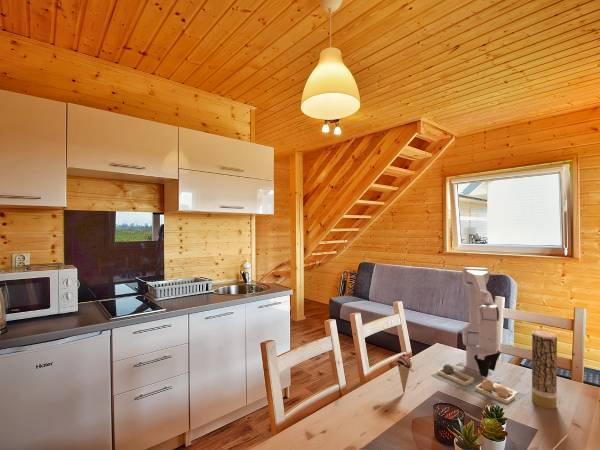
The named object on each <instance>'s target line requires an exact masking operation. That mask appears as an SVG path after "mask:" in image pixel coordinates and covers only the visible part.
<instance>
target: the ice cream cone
mask: <svg viewBox="0 0 600 450" xmlns="http://www.w3.org/2000/svg"><path fill="white" fill-rule="evenodd" d="M395 364H396V365H397V367H398V372H399V373H398V374H399V377H400V384H401V387H402V392H403V393H405V391H406V387H407V383H408V378H409V373H410V370H411V368H412V366H413V363H412V362H411V358H410V357H409V356H407V355H406V354H405V353H402V354H400V355H399V356H398V357H397V360H396V361H395Z"/></svg>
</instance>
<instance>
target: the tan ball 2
mask: <svg viewBox="0 0 600 450" xmlns="http://www.w3.org/2000/svg"><path fill="white" fill-rule="evenodd" d="M501 385H502V384H500V386H497V387H496V393H497V395H498V396H499V397H502V398H506V397H507V396H508V395H509V392H508V390H507V388H506V387H507V386H505V387H504V385H502V386H501Z"/></svg>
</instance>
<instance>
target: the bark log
mask: <svg viewBox="0 0 600 450" xmlns="http://www.w3.org/2000/svg"><path fill="white" fill-rule="evenodd" d="M531 332H532V334H531V335H532V336H531V338H532V339H531V344H532V345H531V347H532V348H531V358H532V359H531V400H532V403H533V404H535V405H536V406H538V407H541V408H544V409H548V410H554V409H556V408H557V393H558V391H557V388H558V387H557V381H558V379H557V376H558V375H557V372H558V371H557V370H558V369H557V364H558V361H557V359H558V354H557V353H558V348H557V347H558V337H557V336H558V335H557V334H555V333H553V332H550V331H546V330H538V329H537V330H536V329H535V330H532V331H531Z"/></svg>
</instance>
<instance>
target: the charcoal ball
mask: <svg viewBox="0 0 600 450" xmlns="http://www.w3.org/2000/svg"><path fill="white" fill-rule="evenodd" d="M452 366H453V365H451V364H444V365H443V367H442V368H443V371H444V372H445V373H446V374H448V375H451V374H453V372H454V369H453V367H452Z"/></svg>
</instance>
